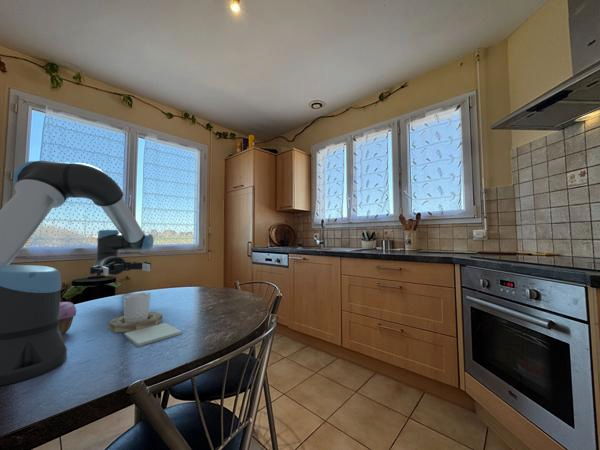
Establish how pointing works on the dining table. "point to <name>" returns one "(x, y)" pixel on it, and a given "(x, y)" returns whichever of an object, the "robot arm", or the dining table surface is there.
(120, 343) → the dining table surface
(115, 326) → the collar
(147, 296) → the white cup
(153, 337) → the pad
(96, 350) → the dining table surface
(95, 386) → the dining table surface
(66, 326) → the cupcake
